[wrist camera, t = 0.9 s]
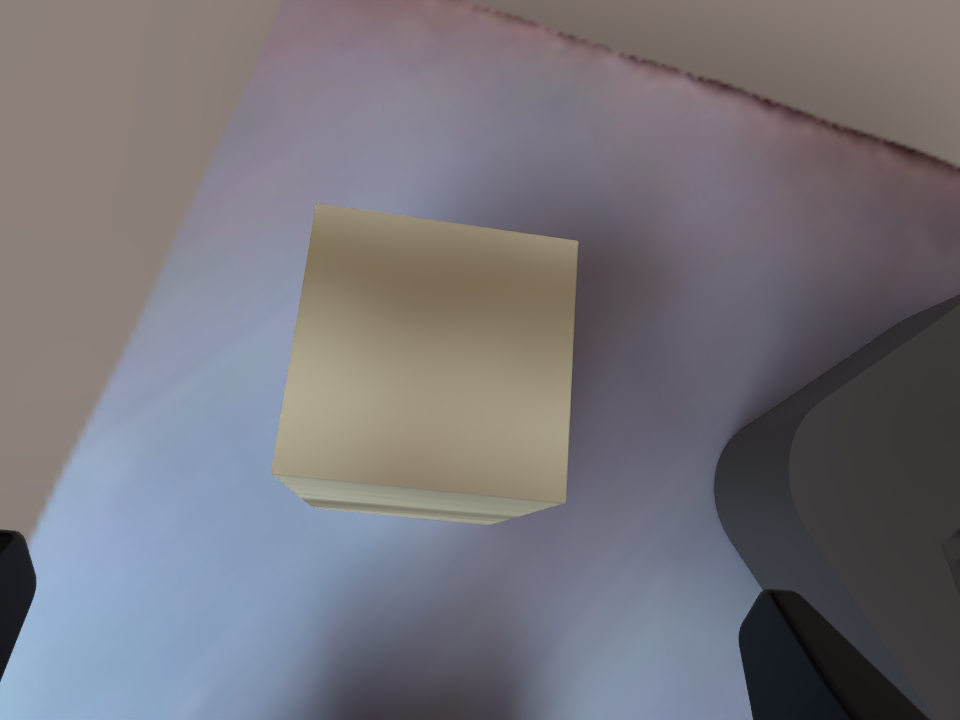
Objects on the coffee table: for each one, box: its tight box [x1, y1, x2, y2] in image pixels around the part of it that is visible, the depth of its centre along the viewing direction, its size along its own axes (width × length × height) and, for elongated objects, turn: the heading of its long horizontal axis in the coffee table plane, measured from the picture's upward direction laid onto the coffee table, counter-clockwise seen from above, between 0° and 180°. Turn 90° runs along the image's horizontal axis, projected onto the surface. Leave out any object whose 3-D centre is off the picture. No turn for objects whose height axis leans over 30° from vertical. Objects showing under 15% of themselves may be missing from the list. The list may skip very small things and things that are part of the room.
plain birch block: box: [271, 203, 578, 525], centre depth 20 cm, size 6×6×10 cm
